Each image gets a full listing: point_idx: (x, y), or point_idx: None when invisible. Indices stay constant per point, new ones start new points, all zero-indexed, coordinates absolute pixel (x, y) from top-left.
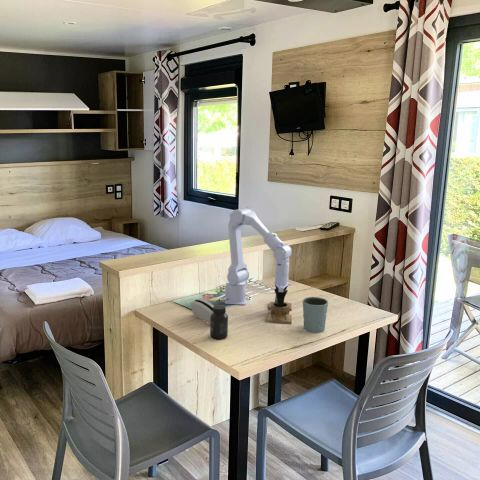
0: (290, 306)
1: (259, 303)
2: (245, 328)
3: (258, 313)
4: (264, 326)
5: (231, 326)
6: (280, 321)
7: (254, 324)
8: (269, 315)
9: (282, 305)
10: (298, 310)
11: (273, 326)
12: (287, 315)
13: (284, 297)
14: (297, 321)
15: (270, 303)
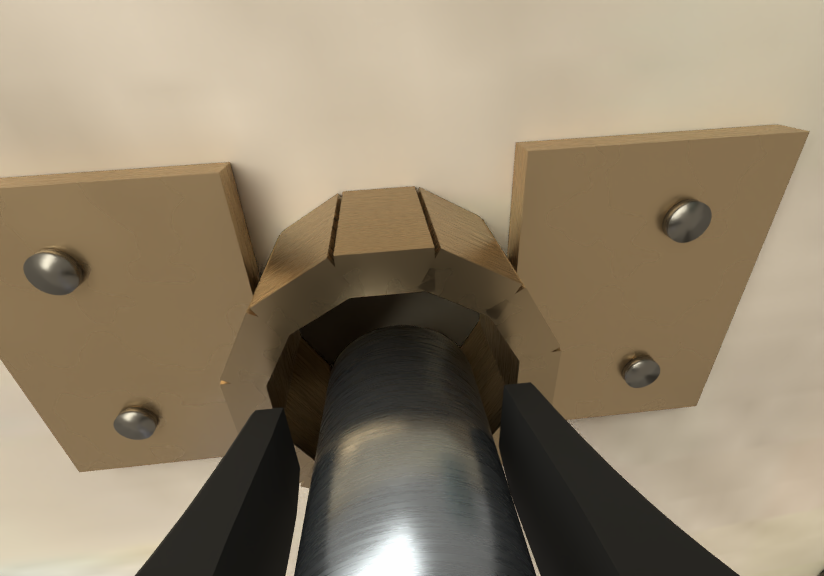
0: (109, 199)
1: (153, 519)
2: (783, 492)
3: None
4: (779, 392)
5: (726, 556)
6: (737, 277)
7: (715, 461)
8: (564, 408)
9: (452, 367)
10: (142, 21)
11: (802, 322)
12: (559, 213)
13: (684, 534)
14: (700, 23)
15: (147, 456)
